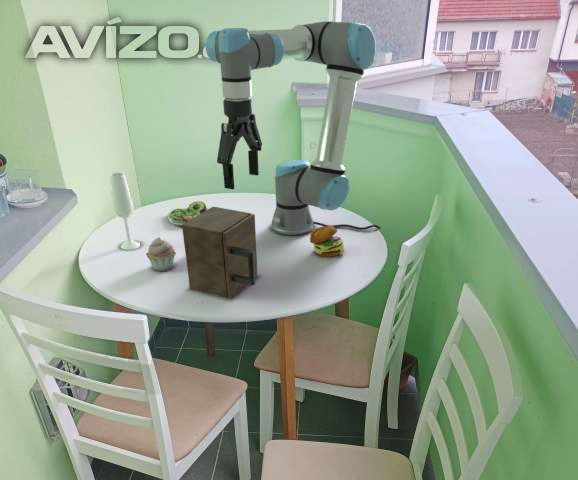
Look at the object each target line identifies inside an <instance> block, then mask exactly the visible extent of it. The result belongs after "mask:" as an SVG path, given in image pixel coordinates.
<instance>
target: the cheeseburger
mask: <svg viewBox="0 0 578 480" xmlns="http://www.w3.org/2000/svg"><path fill="white" fill-rule="evenodd" d="M328 225H329V224H328ZM310 232H311V233H310V236H309V241H310V243H311V244H313V249H314V252H315V254H316V255H318V256H320V257H325V258H327V257H329V258H330V257H334V256H335V257H336V256H338V255H339V256H341V255H342V254H344V252H345V247H344V244H343V243H344V240H343V238H341V236H338V235H336V233H338V229H337V227H333V226H332V225H331V224H330V225H329V226H319V227H316V228H313V229H312V230H311V231H310ZM335 235H336V236H335Z"/></svg>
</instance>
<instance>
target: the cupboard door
mask: <svg viewBox="0 0 578 480" xmlns="http://www.w3.org/2000/svg"><path fill="white" fill-rule="evenodd" d="M256 233H257V232H256V215H255V213H251V215H249V216H248V217H246V218H245V219H243V220H242V221H240V222H239V223H237V224H236V225H234V226H233V227H231V228H230V229H228V230H227V231H225V232H224V233H223V245H224V257H225V269H226V282H227V294H228V298H227V299H230V300H231V299H232V298H234V297H235V296H236V295H238V294H239V293H240V292H241V291H242V290H243V289H244V288H246V287H247V286H255V285H256V279H257V278H258V261H257V260H258V256H257V234H256Z"/></svg>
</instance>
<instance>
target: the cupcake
mask: <svg viewBox="0 0 578 480" xmlns="http://www.w3.org/2000/svg"><path fill="white" fill-rule="evenodd" d="M176 253H177V252H176V251H175V249H174V247H173V245H172V244H170V243H169V242H168V241H167V240H165V239H162V238H161V237H160V236H159V237H155V238H154V239H153V240H152V241H151V244H150V245H149V246H148V251H147V252H146V253H145V255H146V258H147V259H148V260H149V262H150V264H151V267H152V269H153V270H154V271H158V272H165V271H169V270H171V269H172V268H173V266H174V260H175V256H176Z"/></svg>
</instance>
